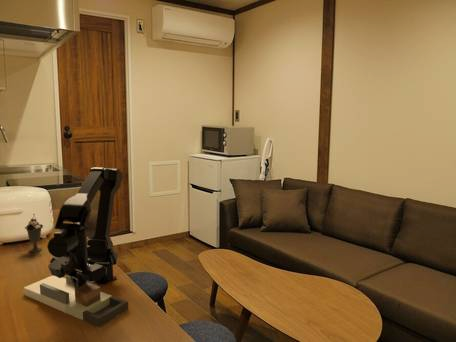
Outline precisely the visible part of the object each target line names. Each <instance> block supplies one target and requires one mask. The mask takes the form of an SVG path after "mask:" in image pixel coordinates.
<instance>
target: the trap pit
mask: <svg viewBox="0 0 456 342" xmlns="http://www.w3.org/2000/svg"><path fill="white" fill-rule="evenodd" d="M109 300H110V304H109V305H107V306H106V307H104V308H102V309H100V310H99V311H97V312H95V313H91V312H89V311H87V310H86V311H84V312H83V320H82V321H84V322H86V323H88V324H91V325H93V326H95V327H97V328H101V327H102V326H103V325H106V324H107V323H109V322H110V321H112V320H114V319H115V318H117V317H118V316H121V315H122V314H123V313H125V312H126V311H129V301H128V300H124V299H122V298H120V297H117V296H114V295H111V297H109Z"/></svg>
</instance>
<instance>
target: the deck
mask: <svg viewBox="0 0 456 342" xmlns="http://www.w3.org/2000/svg"><path fill="white" fill-rule="evenodd" d="M42 283H44V284H47V285H50V286H52V287H55V288H57V289H60V290H62V291H65V292H67V293H69V301H70V303H68V304H64V303H61V302H59V301H57V300H54V299H52V298H49V297H47V296H45V295H42V294H40V284H42ZM23 295H24V296H26V297H28V298H30V299H32V300H35V301H37V302H40V303H42V304H45V305H47V306H49V307H50V308H54V309H56V310H58V311H61V312H63V313H65V314H67V315H70V316H72V317H74V318H77V319H79V320H81V321H83V312H84V311H86V310H87V311H89V312H91V313H95V312H97V311H99V310H100V309H102V308H104V307H106V306H107V305H109V304H110V300H109V297H111V296H112V295H111V294H108V293H106V292H103V291H101V290H100V298H101V300H99V301H97V302H95V303H93V304H91V305H89V306H87V307H86V306H84V305H81V304H79V303H76V302H75V287H74V285H73V284H70V283H67V282H66V277H62V278H58V277H56V276H53V275H52V274H51V275H50V276H48V277H46V278H42V279H41V280H38V281H36V282H34V283H30V284H29V285H26V286H24V287H23Z"/></svg>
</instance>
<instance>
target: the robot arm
mask: <svg viewBox="0 0 456 342" xmlns="http://www.w3.org/2000/svg"><path fill="white" fill-rule="evenodd" d="M123 179H124V175H123V172H122V171H121V170H120V168H116V167H115V168H113V167H110V168H109V167H102V166H101V167H99V166H98V167H96V166H94V167H91V168H90V169H89V174H88V176H87V177H86V179H85V180H84V182H83V183H82V185H81V186H80V188H79V190H78V191H77V192H76V194H75V195H73V196H71V197H69V198H68V199H67V200H66V201H65V202H64V203H63V204H62V206H61V207H60V209H59V212H58V215H57V219H56V222H55V225H54V230H57V231H55V232H54V233H53V237H52V238H50V239H49V241H48V242H47V245H46V246H47V250H48V252H49V254H50V255H51V256H53V257H52V258H51V259H50V261H49V263H48V265H47V268H48V270H49V271H50V274H51V276H52V275H53V276H56V277H58V278H65V277H66V275H67V276H69V277H70V279H71V281H72V283H73V285H74V287H75V289H77V288H79V287H81V286H83V285H85V284H86V282H87V281H89V282H92V281H94V284H97V285H100V286H105V285H106V284H108V283H110V282H113V281H115V280H117V276H115V275H114V265H117V262H118V256H119V255H118V254H117V252H116V251H115V250H114V243H113V241H112V238H111V237H110V232H111V224H112V218H113V209H114V201H115V195H116V193H117V192H118V191H119V189H120V188H121V184H122V182H123ZM98 192H99V200H98V207H97V214H96V222H95V227H94V228H95V230H94V235H93V236H92V237H91V238H90V239H88V236H87V235H88V233H87V227H88V226H89V225H90V222H89V219H90V216H91V213H92V208H91V207H92V206H91V204H92V202H93V200H94V199H95V197H96V195H97V193H98Z"/></svg>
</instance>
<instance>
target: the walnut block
mask: <svg viewBox="0 0 456 342" xmlns="http://www.w3.org/2000/svg"><path fill="white" fill-rule="evenodd" d="M100 291H101V286H99V285H96V284H94V285H93V284H90V283H87V284H85V285H83V286H81V287H79V288H77V289H75V302H76V303H79V304H81V305H84V306H86V307H87V306H89V305H91V304H93V303H95V302H97V301H99V300H101V298H100Z"/></svg>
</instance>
